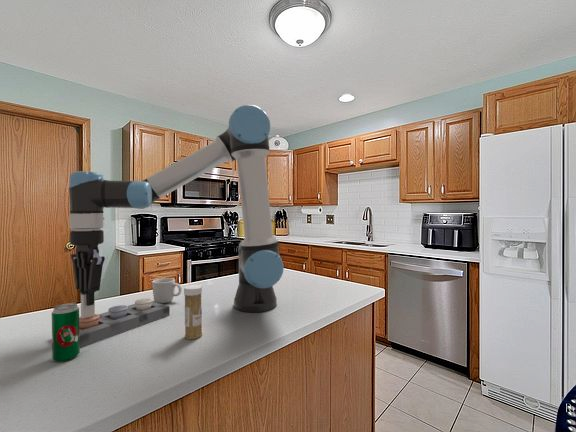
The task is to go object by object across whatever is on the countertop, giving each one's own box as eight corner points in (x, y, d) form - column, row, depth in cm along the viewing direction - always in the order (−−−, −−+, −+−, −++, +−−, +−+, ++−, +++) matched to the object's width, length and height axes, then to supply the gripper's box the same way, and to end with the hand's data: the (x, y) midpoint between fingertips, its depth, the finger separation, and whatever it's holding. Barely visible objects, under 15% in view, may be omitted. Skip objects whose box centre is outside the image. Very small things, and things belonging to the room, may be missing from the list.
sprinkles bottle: (201, 338, 77) (201, 288, 77) (183, 340, 76) (182, 289, 76) (202, 331, 81) (202, 283, 81) (185, 333, 80) (185, 284, 80)
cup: (186, 298, 112) (185, 278, 112) (176, 305, 104) (175, 283, 104) (159, 298, 113) (159, 277, 113) (147, 304, 105) (147, 282, 105)
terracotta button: (103, 326, 80) (103, 316, 80) (83, 333, 76) (83, 322, 76) (93, 323, 83) (93, 312, 83) (73, 329, 78) (73, 318, 78)
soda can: (62, 352, 70) (61, 302, 69) (84, 351, 70) (83, 302, 70) (46, 363, 65) (45, 309, 64) (70, 362, 65) (69, 309, 65)
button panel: (169, 315, 94) (169, 306, 94) (79, 348, 72) (78, 336, 72) (146, 309, 100) (146, 300, 100) (56, 337, 78) (56, 326, 78)
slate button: (131, 316, 87) (131, 306, 87) (114, 322, 83) (114, 311, 83) (122, 313, 90) (121, 304, 89) (105, 319, 85) (104, 309, 85)
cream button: (155, 309, 94) (155, 299, 94) (141, 313, 90) (141, 304, 90) (146, 306, 96) (146, 297, 96) (131, 311, 92) (131, 301, 92)
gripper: (114, 229, 79) (115, 316, 79) (89, 228, 85) (90, 308, 86) (83, 231, 72) (84, 326, 73) (59, 229, 79) (60, 316, 79)
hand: (87, 316), depth 79 cm, fingers closed
